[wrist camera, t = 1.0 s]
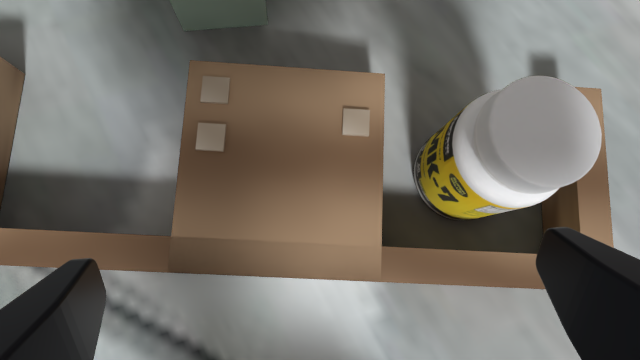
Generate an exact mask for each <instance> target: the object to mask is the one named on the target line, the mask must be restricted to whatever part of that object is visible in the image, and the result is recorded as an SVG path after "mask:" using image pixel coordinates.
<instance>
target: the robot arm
mask: <svg viewBox="0 0 640 360" xmlns="http://www.w3.org/2000/svg"><path fill="white" fill-rule="evenodd" d="M536 268H537V271H538V274H539V276H540V278H541V280H542V282H543V284H544V287H545V289H546V291H547V293H548V295H549V297H550V299H551V302H552V304H553V306H554V308H555V310H556V312H557V315H558V317H559V319H560V321H561V323H562V325H563V327H564V329H565V331H566V333H567V335H568V337H569V339H570V341H571V342H572V344H573V346H574V348H575V349H576V351H577V353H578V354H579V356H580V358H581V359H582V360H640V260H639V259H637V258H635V257H633V256H630V255H628V254H626V253H624V252H622V251H619V250H617V249H615V248H613V247H611V246H608V245H606V244H604V243H602V242H600V241H597V240H595V239H593V238H591V237H589V236H586V235H584V234H582V233H580V232H578V231H576V230H573V229H571V228H568V227H556V228H549V229H547V230H546V231H545V232H544V234H543V237H542V241H541V244H540V247H539V250H538V253H537V256H536ZM105 305H106V289H105V286H104V283H103V280H102V277H101V274H100V271H99V268H98V265H97V262H96V261H95V260H94V259H92V258H84V259H72V260H69V261H68V262H66V263H65V264H63V265H62V266H61V267H59V268H58V269H56V270H55V271H54V272H52V273H51V274H49V275H48V276H47V277H45V278H44V279H42V280H41V281H40V282H38V283H37V284H35V285H34V286H33V287H31V288H30V289H28V290H27V291H26V292H24V293H23V294H21V295H20V296H19V297H17V298H16V299H14V300H13V301H12V302H10V303H9V304H7V305H6V306H5V307H3V308H2V309H0V360H93V359H94V354H95V350H96V345H97V341H98V336H99V332H100V327H101V323H102V318H103V314H104V309H105Z"/></svg>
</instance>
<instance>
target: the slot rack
mask: <svg viewBox="0 0 640 360" xmlns="http://www.w3.org/2000/svg"><path fill="white" fill-rule="evenodd" d="M24 77H25V74H24V73H23V72H21V71H20V70H18V69H17V68H16V67H14V66H13V65H11V64H10V63H9V62H7V61H6V60H4V59H3V58H2V57H0V209H1V204H2V198H3V193H4V187H5V182H6V176H7V171H8V165H9V160H10V154H11V148H12V143H13V137H14V132H15V126H16V121H17V115H18V110H19V104H20V99H21V93H22V88H23V82H24ZM575 88H576V89H577V90H579V91H580V92H581V93H582V94H583V95H584V96H585V97H586V98H587V99H588V101H589V102H590V103H591V105H592V106H593V108H594V110H595V112H596V114H597V116H598V119H599V123H600V127H601V133H602V139H601V148H600V152H599V155H598V158H597V160H596V162H595V164H594V165H593V167H592V168H591V169H590V171H589V172H588V173H587V174H585V175H584V176H583V177H582V178H581V179H579V180H577V181H576V182H574V183H572V184H569V185H566V186H564V187H560V188H559V189H558V190H557V191H556V192H555V193H554V194H553V195H552V196H550V197H549V198H547V199H546V200H544V201H542V202H541V203H542V223H543V234H544V232H545V231H546V230H547V229H549V228H556V227H568V228H571V229H573V230H576V231H578V232H580V233H582V234H584V235H586V236H589V237H591V238H593V239H595V240H597V241H600V242H602V243H604V244H606V245H608V246H611V247H613V235H612V222H611V209H610V197H609V184H608V171H607V159H606V146H605V133H604V121H603V108H602V95H601V89H596V88H582V87H575ZM384 92H385V74H381V73H366V72H352V71H337V70H323V69H309V68H294V67H280V66H266V65H251V64H237V63H223V62H208V61H194V60H190V64H189V73H188V83H187V92H186V101H185V111H184V120H183V129H182V139H181V148H180V157H179V166H178V176H177V185H176V194H175V204H174V213H173V222H172V232H171V236H155V235H135V234H114V233H93V232H73V231H52V230H31V229H11V228H0V265H9V266H32V267H55V268H59V267H61V266H62V265H63V264H65V263H66V262H68V261H69V260H72V259H84V258H92V259H94V260H95V261H96V262H97V265H98V268H99V269H100V270H123V271H145V272H168V273H191V274H214V275H236V276H259V277H282V278H304V279H327V280H350V281H372V282H395V283H418V284H441V285H463V286H486V287H509V288H531V289H545V287H544V284H543V282H542V280H541V278H540V276H539V274H538V271H537V268H536V256H537V254H527V253H507V252H486V251H465V250H445V249H424V248H403V247H383V246H382V199H383V146H384Z"/></svg>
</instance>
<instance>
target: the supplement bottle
mask: <svg viewBox="0 0 640 360" xmlns="http://www.w3.org/2000/svg"><path fill="white" fill-rule="evenodd" d="M601 139H602V133H601V127H600V123H599V119H598V116H597V114H596V112H595V110H594V108H593V106H592V105H591V103H590V102H589V101H588V99H587V98H586V97H585V96H584V95H583V94H582V93H581V92H580V91H579V90H577V89H576V88H575V87H574V86H572V85H570V84H569V83H567V82H565V81H563V80H560V79H558V78H554V77H549V76H529V77H524V78H521V79H518V80H516V81H514V82H512V83H511V84H509V85H508V86H506V87H505V88H503V89H502V90H496V91H492V92H489V93H486V94H484V95H482V96H480V97H478V98H476V99H475V100H473V101H472V102H471V103H470V104H468V105H467V106H466V107H465V108H464V109H463V110H461V111H460V112H459V113H458V114H457V115H456V116H455V117H454V118H452V119H451V120H450V121H449V122H448V123H447V124H446V125H445V126H444V127H442V128H441V129H440V130H439V131H438V132H437V133H435V134H434V135H433V136H432V137H431V138H430V139H429V140H428V141H427V142H426V143H425V144H424V145H423V147H422V148H421V149H420V151H419V153H418V155H417V158H416V161H415V166H414V178H415V183H416V186H417V189H418V192H419V194H420V196H421V197H422V199H423V200H424V202H425V203H426V204H427V205H428V206H429V207H430V208H431V209H432V210H433V211H435V212H436V213H438V214H440V215H442V216H444V217H447V218H450V219H454V220H471V219H475V218H480V217H484V216H489V215H493V214H498V213H503V212H507V211H512V210H516V209H521V208H526V207H529V206H532V205H535V204H538V203H540V202H542V201H544V200H546V199H547V198H549V197H550V196H552V195H553V194H554V193H555V192H556V191H557V190H558V189H559V188H560V187H564V186H566V185H569V184H572V183H574V182H576V181H577V180H579V179H581V178H582V177H583V176H584V175H585V174H587V173H588V172H589V171H590V169H591V168H592V167H593V165H594V164H595V162H596V160H597V158H598V155H599V152H600V148H601Z"/></svg>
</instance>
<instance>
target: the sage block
mask: <svg viewBox="0 0 640 360" xmlns="http://www.w3.org/2000/svg"><path fill="white" fill-rule="evenodd" d="M170 2H171V5H172V7H173V9H174V11H175V13H176V15H177V18H178V20H179V22H180V24H181V26H182V28H183V31H193V30H206V29H219V28H232V27H245V26H258V25H268V20H267V10H266V0H170Z"/></svg>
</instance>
